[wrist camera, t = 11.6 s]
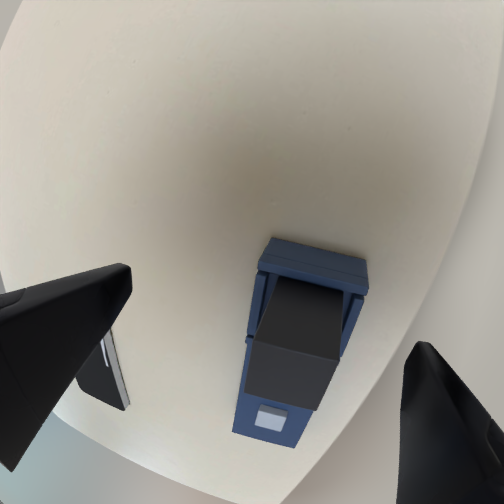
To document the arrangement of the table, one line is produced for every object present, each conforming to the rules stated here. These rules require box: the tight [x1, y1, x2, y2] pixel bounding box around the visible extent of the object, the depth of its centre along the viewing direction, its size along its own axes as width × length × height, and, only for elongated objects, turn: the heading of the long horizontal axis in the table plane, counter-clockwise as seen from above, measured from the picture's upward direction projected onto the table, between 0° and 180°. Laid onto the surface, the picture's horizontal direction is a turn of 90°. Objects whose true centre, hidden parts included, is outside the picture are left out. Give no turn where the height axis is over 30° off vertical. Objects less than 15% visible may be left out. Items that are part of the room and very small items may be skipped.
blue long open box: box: [232, 238, 369, 448], centre depth 24 cm, size 6×20×4 cm, turn 172°
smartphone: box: [75, 330, 129, 411], centre depth 33 cm, size 8×1×15 cm
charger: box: [243, 276, 344, 411], centre depth 17 cm, size 4×4×6 cm
